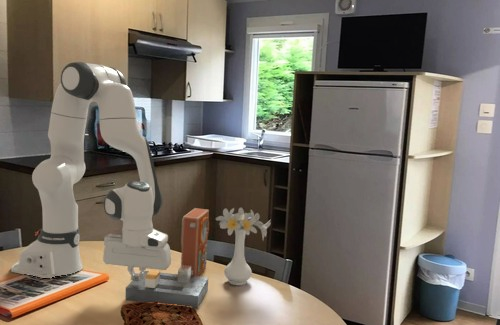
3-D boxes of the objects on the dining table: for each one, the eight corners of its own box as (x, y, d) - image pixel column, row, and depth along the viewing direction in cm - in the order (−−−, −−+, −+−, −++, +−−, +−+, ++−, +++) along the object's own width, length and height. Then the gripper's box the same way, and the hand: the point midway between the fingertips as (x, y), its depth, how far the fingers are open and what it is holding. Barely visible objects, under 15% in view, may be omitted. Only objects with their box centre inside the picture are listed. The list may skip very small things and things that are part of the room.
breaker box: (125, 300, 139) (125, 275, 138) (142, 282, 153) (142, 259, 152) (197, 308, 137) (198, 283, 136) (207, 289, 151) (208, 266, 149)
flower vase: (266, 291, 152) (272, 216, 148) (210, 287, 152) (214, 213, 148) (266, 276, 165) (271, 207, 161) (214, 272, 165) (218, 203, 161)
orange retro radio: (209, 265, 171) (196, 281, 156) (190, 263, 172) (176, 278, 158) (212, 208, 168) (199, 219, 153) (193, 206, 169) (178, 217, 154)
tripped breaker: (144, 287, 139) (145, 275, 139) (149, 281, 144) (150, 270, 143) (154, 288, 139) (155, 276, 138) (159, 282, 143) (159, 271, 143)
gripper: (99, 235, 138) (99, 280, 140) (167, 242, 135) (165, 287, 138) (108, 229, 144) (108, 272, 146) (173, 236, 142) (171, 279, 144)
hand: (136, 280), depth 142 cm, fingers closed
